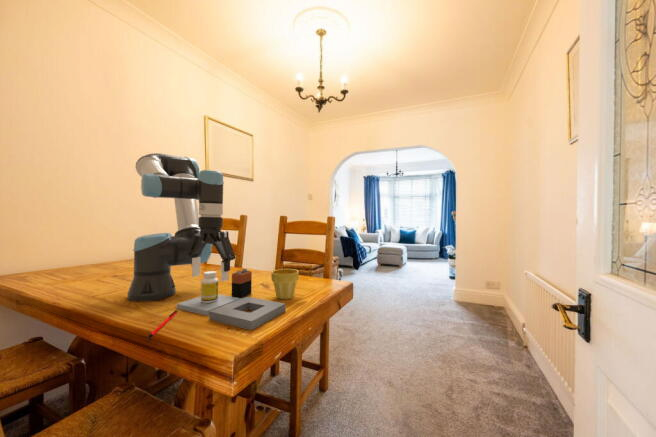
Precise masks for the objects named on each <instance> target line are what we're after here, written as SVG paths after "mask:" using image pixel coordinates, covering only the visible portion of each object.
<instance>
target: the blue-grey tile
mask: <svg viewBox="0 0 656 437" xmlns="http://www.w3.org/2000/svg"><path fill="white" fill-rule="evenodd" d="M237 300H240V298H237V297H232V295H231V296H230V295H226V294H225V295H224V294H220V293H218V300H217V301H215V302H211V303H203V302H201V295H200V296H197V297H195V298H192V299H187V300H186V301H182V302H179V303H177V304H176V309H177V310H183V311H187V312H190V313H193V314H194V313H195V314H200V315H203V316H208V317H209V311H211V310H214V309H217V308H219V307H222V306H224V305H227V304H229V303H232V302H235V301H237Z"/></svg>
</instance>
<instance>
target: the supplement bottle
mask: <svg viewBox="0 0 656 437" xmlns="http://www.w3.org/2000/svg"><path fill="white" fill-rule="evenodd" d="M218 294H219V278H218V277H217V271H216V270H215V271H214V270H212V271H211V270H210V271H209V270H208V271H204V272H203V278H202V279H201V280H200V296H201V302H203V303H211V302H215V301H217V300H218Z"/></svg>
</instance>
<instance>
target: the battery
mask: <svg viewBox="0 0 656 437" xmlns="http://www.w3.org/2000/svg"><path fill="white" fill-rule="evenodd" d="M252 276H253V274H252V271H250V270H248V268H242V269H241V270H237V271H236V272H233V273H232V274H231V297H237V298H240V299H242V298H245V297H249V296H250V295H252Z"/></svg>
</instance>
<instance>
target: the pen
mask: <svg viewBox="0 0 656 437" xmlns="http://www.w3.org/2000/svg"><path fill="white" fill-rule="evenodd" d="M178 312H179V311H178V310H174V311H173V312H172V313H171V314H170V315H169V316H168V317H166V319H165V320H163V322H162V323H161V324H160V325H159V326H157V327H156V328H155V329H153V331H152V332H151V333H150V334H149V335H148V336H147V340H149V339H151V338H152V337H153V336H155V334H157V333H158V332H159V331H160V330H161V329H162V328H163V327H164V326H165V325H167V323H168V322H169V321H171V320H172V319H173V318H174V316H176V315H177V314H178Z"/></svg>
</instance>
